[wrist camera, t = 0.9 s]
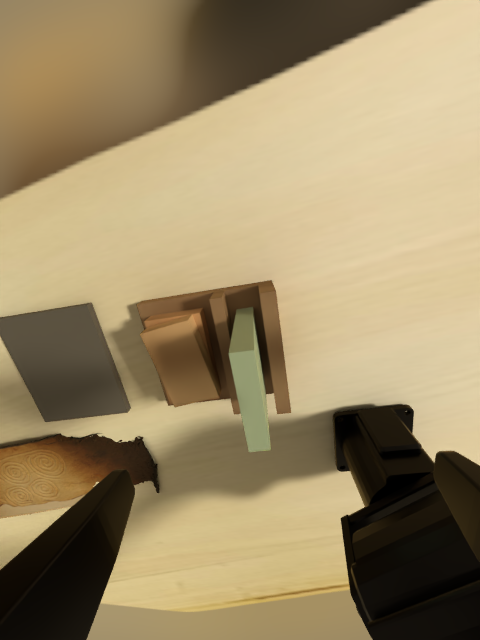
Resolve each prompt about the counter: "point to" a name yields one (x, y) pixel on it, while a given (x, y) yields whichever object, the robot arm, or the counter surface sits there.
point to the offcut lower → (201, 326)
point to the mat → (65, 362)
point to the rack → (220, 328)
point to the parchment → (65, 471)
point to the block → (249, 380)
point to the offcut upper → (182, 360)
